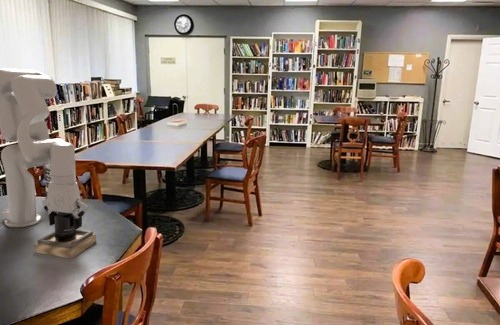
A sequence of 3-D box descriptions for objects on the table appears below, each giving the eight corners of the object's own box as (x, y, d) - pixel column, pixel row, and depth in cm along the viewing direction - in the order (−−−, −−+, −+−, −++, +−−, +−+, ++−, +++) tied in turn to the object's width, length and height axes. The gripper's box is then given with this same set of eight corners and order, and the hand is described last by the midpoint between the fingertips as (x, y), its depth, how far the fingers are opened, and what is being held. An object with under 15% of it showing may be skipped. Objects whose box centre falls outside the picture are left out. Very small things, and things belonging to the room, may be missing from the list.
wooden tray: (34, 252, 129) (33, 240, 128) (62, 236, 142) (61, 225, 141) (71, 258, 126) (71, 246, 125) (96, 241, 140) (95, 230, 139)
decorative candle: (71, 202, 179) (69, 150, 173) (60, 208, 169) (57, 154, 164) (53, 200, 179) (50, 148, 174) (40, 206, 170) (37, 152, 165)
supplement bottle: (68, 244, 130) (66, 210, 127) (50, 241, 131) (48, 208, 128) (80, 236, 136) (79, 204, 134) (63, 233, 137) (62, 202, 135)
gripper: (33, 178, 127) (36, 226, 130) (79, 184, 124) (81, 233, 127) (48, 173, 134) (51, 219, 138) (93, 178, 131) (94, 225, 134)
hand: (65, 226), depth 132 cm, fingers open, 9 cm apart
